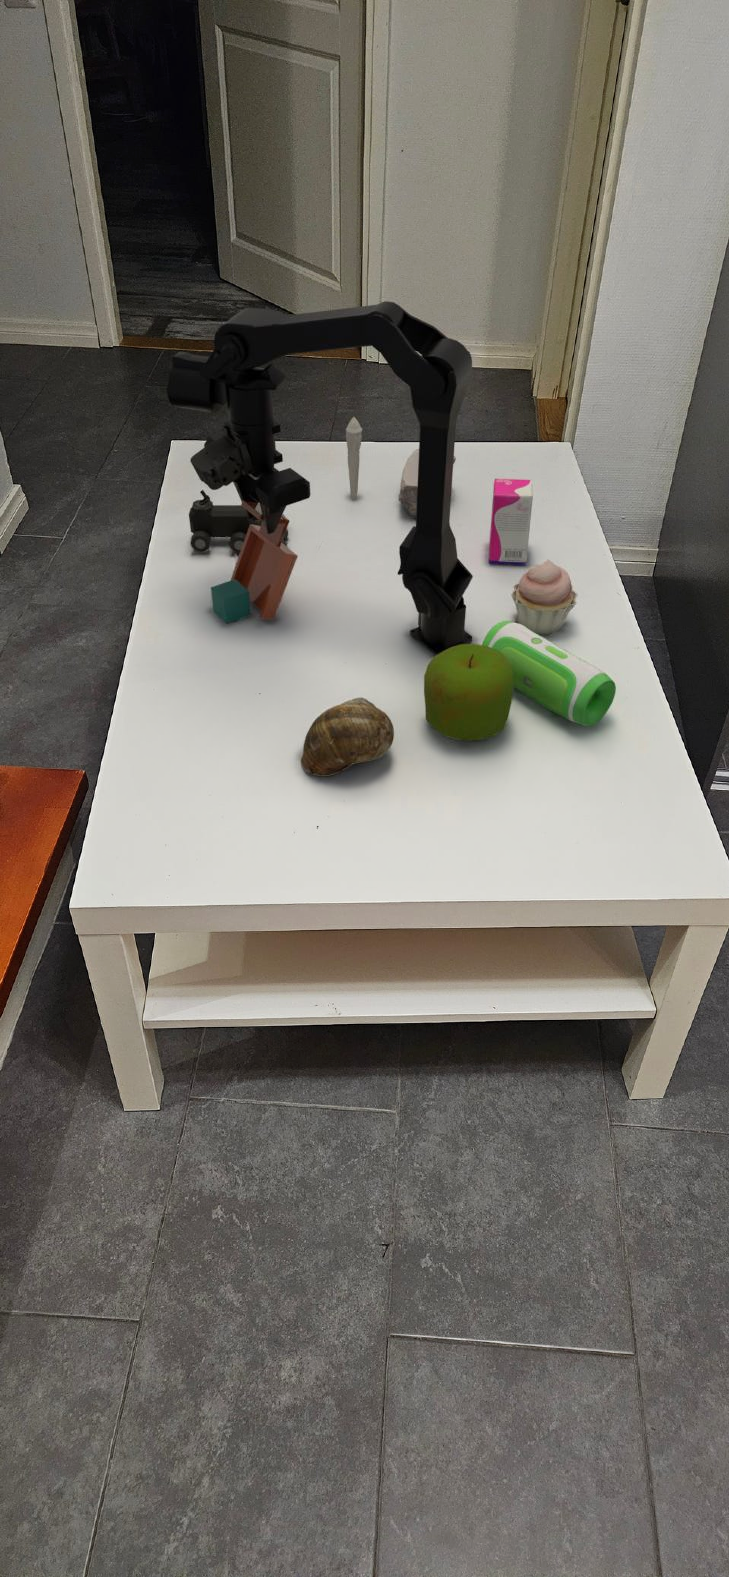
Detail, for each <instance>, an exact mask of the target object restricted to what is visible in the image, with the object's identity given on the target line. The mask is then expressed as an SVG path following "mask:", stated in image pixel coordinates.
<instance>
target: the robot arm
mask: <svg viewBox="0 0 729 1577" xmlns="http://www.w3.org/2000/svg"><path fill="white" fill-rule="evenodd" d="M213 346H214V348H213V350H212V352H211V354H210V355H209V356H205V355H198V354H192V353H190V352H187V351H178V352H177V353H176V354H175V355H173V356H172V357H171V362H172V366H171V368H170V371H169V374H168V379H167V380H168V381H167V386H166V394H167V399H168V402H169V403H170V404H171V406H172V407H174V408H180V409H184V410H193V411H199V412H206V413H211V414H212V413H214V414H216V413H218V412H219V411H220V410H221V408H222V407H223V406H225V405H226V404H227V405H226V406H227V412H228V413H227V414H228V420H227V421H224V422H223V423H222V424H223V426H221V432H219V433H216V434H213V435H210V436H208V437H207V439H206V441H205V442H204V444H203V448H202V449H200V450H199V451H198V452H196V453H195V454H193V455H192V456H190V460H189V462H190V464H191V465H192V468H194V471H195V473H196V474H197V476H198V478H199V480H200V481H201V482H202V483H204V484H205V485H206V486H207V487H208V488H209V489H210V490H213V491H217V490H220V489H221V488H222V487H224V486H225V487H229V485H231V484H232V483H233V485H234V487H235V489H236V491H237V494H238V496H239V499H240V501H241V503H242V501H243V500H245V501H250V502H254V503H259V504H260V507H261V511H262V516H263V520H264V525H265V528H266V532H267V533H268V534H271V533H273V532H275V530H276V528H277V526H278V523H279V521H280V519H281V517H282V514H283V515H284V512H285V510H286V508H287V506H290V505H293V504H297V503H299V502H302V501H305V500H309V499H310V497H311V482H310V481H309V480H308V479H307V478H305V477H303V476H302V475H301V474H300V473H298V472H297V471H295V470H294V469H292V468H291V467H288V468H285V469H282V470H278V469H277V468H276V467H275V465H277V464H279V463H282V462H284V458H283V454H282V453H281V452H280V451H279V450H277V448H276V435H275V434H279V433H281V424H280V423H278V422H277V421H276V420H275V419H274V409H273V408H274V406H273V396H272V391H276V390H278V389H279V387H280V386H281V385H283V383H284V382H285V381H286V380H287V375H286V374H285V373H284V372H283V371H282V370H280V369H278V368H277V367H276V365H275V364H274V363H273V361H275V360H277V359H280V358H282V357H286V356H288V355H289V356H290V355H297V354H305V353H307V354H308V353H315V352H316V353H317V352H324V351H327V352H328V351H336V350H344V349H355V348H363V347H364V348H365V347H373V349H375V350H376V351H377V352H379V353H380V354H381V356H382V357H383V358H384V360H385V361H386V363H387V364H388V366H389V368H390V369H391V370H392V371H393V373H394V374H395V375H396V376H397V378H399V379H400V381H402V382H404V383H405V384H406V385H407V386H409V390H410V398H411V399H410V400H411V406H412V409H413V412H414V414H415V417H416V419H417V422H418V424H419V440H418V441H419V442H418V449H419V462H418V485H417V508H416V518H415V525H413V526H412V528H411V529H410V530H409V532H408V533H407V535H406V536H405V538H403V541H402V543H401V544H400V545H399V548H398V550H399V551H398V553H399V560H400V565H399V569H398V571H397V575H398V576H401V575H402V576H401V580H402V584H403V587H404V589H407V590H408V591H409V593H410V594H411V598H412V600H413V604H414V606H415V609H416V612H417V614H418V616H417V625H418V626H417V627H415V628H412V629H410V630H409V635H410V636H411V637H413V638H414V639H415V640H416V641H418V643H420V644H421V645H422V646H424V647H425V648H426V649H427V650H428V651H430V652H431V653H432V654H434V655H435V656H436V655H438V654H439V653H441V652H443V651H445V650H446V649H448V648H450V647H454V646H457V645H461V644H469V643H471V642H472V641H473V636H472V635H471V634H469V633H468V632H467V631H466V630H465V629H466V628H465V627H466V613H467V605H466V604H465V599H464V594H465V592H466V590H467V589H468V587H469V586H470V584H471V581H472V579H473V577H474V575H473V574H472V573H471V572H470V571H469V569H468V568H467V567H466V566H465V565H464V563H463V562H462V561H461V560H460V559H459V558H458V549H457V543H456V542H457V540H456V537H455V535H454V532H453V529H452V527H451V524H450V519H451V506H452V505H451V503H452V490H453V488H452V487H453V474H454V465H453V461H454V456H455V447H456V446H455V442H456V430H457V429H456V428H457V419H458V416H459V413H460V411H461V407H462V405H463V401H464V399H465V397H466V396H465V395H466V392H467V389H468V385H469V381H470V378H471V373H472V370H473V358H472V355H471V352H470V351H469V350H468V349H467V348H466V347H465V345H464V344H463V343H462V342H460V341H458V340H457V339H453V338H449V337H448V336H447V335H445V334H444V333H443V332H441V331H440V330H439V328H437V327H436V326H434V325H432V324H430V323H428V322H426V321H424V320H422V319H420V318H417V317H416V316H413V315H411V314H410V313H408V312H407V311H406V309H404V308H403V307H402V306H400V304H397V303H396V302H394V301H388V300H387V301H386V300H385V301H382V302H380V303H377V304H370V305H363V306H362V305H361V306H355V307H354V306H353V307H345V308H338V309H337V308H336V309H330V310H329V309H328V310H321V311H312V312H305V313H296V314H295V313H294V314H291V313H283V312H280V311H278V310H275V309H273V308H272V309H271V308H257V307H246V308H243V309H241V310H239V311H238V312H237V313H235V315H233V316H232V317H231V318H229V319H228V320H227V321H225V322H224V323H223V324H221V325H220V326H218V327H217V330H216V332H215V334H214V340H213ZM264 365H266V366H265V367H260V366H264ZM244 509H245V508H244ZM245 511H246V514H247V516H248V517H249V518H252V517H255V516H254V515H252V514H251V513H250V512H249V511H247V510H246V509H245Z"/></svg>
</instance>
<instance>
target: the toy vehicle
mask: <svg viewBox="0 0 729 1577" xmlns="http://www.w3.org/2000/svg"><path fill="white" fill-rule="evenodd" d="M199 492H200V495H201V496H202V498H203V499H197V500H195V501H192V506H191V508H190V509H189V512H188V519H189V528H190V529H189V530H190V533H192V535H191V538H190V546H191V548H192V550H194V551H195V552H198V553H205V552H207V551H208V550H209V549H210V547H211V542H212V538H230V540H229V548H230V550H231V551H232V552H233V553H235V554H238V555H239V554H240V551H241V549H242V546H243V543H244V540H245V537H246V534H247V532H248V529H249V526H250V524H252V525H257V526H261V524H262V520H259V519H257V518H256V517H252V518H249V517H248V516H247V514H246V511H245V509H244V507H243V506H241V504H239V505H238V504H237V505H236V504H234V505H233V504H225V505H224V504H214V502H213V501H212V500H211V497H210V495H209V494H207V493H206V492H205V490H204V489H202V490H200V491H199ZM282 515H283V516H285V514H284V513H283V514H282ZM288 537H289V530H287V529H286V532H285V535H284V537H283V540H282V543H283V544H284V545H286V544H285V542H287V541H288Z"/></svg>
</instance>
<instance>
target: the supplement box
mask: <svg viewBox="0 0 729 1577" xmlns="http://www.w3.org/2000/svg"><path fill="white" fill-rule="evenodd" d="M532 481H533V480H532V479H521V478H520V479H519V478H518V479H517V478H494V480H493V492H492V504H491V517H490V518H491V519H490V528H489V529H490V530H489V542H488V564H489V565H505V566H506V565H507V566H508V565H510V566H511V565H512V566H526V565H527V557H528V548H529V541H530V540H529V539H530V529H531V519H532V509H533V500H534V494H533V493H534V492H533V482H532Z"/></svg>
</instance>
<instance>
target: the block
mask: <svg viewBox="0 0 729 1577" xmlns="http://www.w3.org/2000/svg"><path fill="white" fill-rule="evenodd" d="M230 580H231V579H230ZM230 580H227V581H225V582H222V583H219V584H217V585H213V586H211V587H210V594H211V602H212V610H213V613H215V614H216V616H218V617H219V618H220V619H221V620H222V621H223V622H224V623H225V624H230V623H233V622H236V621H238V620H242V619H244V618H247V617H250V616H251V615H252V610H251V601H250V598H249V591H248V590H247V589H246V588H245V587H244V586H242V585H241V584H240V583H239V582H238V581H237V580H236V579H234V580H231V581H230Z"/></svg>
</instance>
